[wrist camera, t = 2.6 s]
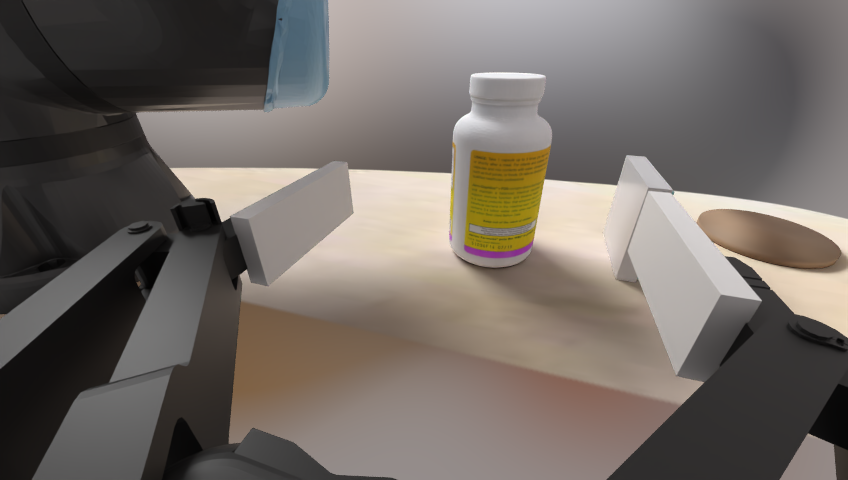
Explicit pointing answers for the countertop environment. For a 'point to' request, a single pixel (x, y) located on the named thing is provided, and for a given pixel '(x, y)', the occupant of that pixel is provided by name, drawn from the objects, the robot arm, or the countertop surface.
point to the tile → (629, 212)
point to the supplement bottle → (498, 169)
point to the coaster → (768, 238)
